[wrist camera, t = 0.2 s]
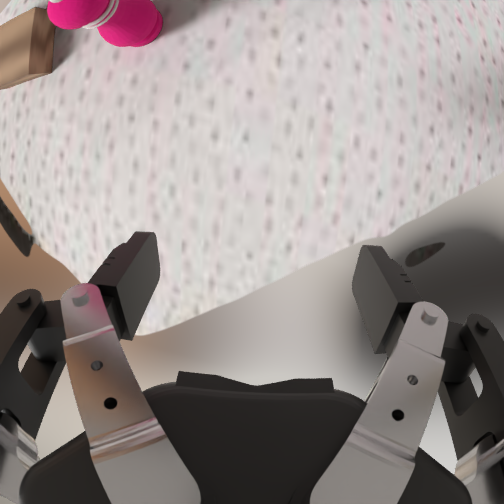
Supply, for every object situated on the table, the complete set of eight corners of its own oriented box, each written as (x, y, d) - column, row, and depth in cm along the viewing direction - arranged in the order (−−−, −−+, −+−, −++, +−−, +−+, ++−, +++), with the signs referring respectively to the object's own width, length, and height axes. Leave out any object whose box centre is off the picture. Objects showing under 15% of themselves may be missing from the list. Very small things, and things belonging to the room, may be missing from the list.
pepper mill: (110, 46, 29) (10, 32, 12) (129, 1, 26) (42, -40, 8) (154, 54, 30) (66, 32, 13) (175, 8, 27) (105, -49, 9)
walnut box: (13, 32, 25) (-9, 31, 19) (58, 11, 25) (35, 7, 19) (9, 88, 30) (-14, 92, 25) (52, 73, 30) (28, 74, 25)
